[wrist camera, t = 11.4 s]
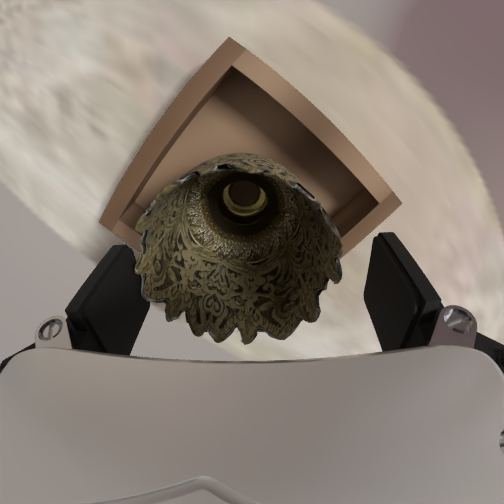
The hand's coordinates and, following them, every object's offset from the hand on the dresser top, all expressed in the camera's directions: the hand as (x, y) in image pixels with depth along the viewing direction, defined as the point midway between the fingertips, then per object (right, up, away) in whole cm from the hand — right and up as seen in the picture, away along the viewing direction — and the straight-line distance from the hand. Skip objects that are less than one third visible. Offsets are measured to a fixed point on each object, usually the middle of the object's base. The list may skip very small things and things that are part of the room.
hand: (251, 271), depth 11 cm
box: (0, +5, +6) cm, 8 cm away
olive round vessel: (0, +4, +6) cm, 7 cm away
